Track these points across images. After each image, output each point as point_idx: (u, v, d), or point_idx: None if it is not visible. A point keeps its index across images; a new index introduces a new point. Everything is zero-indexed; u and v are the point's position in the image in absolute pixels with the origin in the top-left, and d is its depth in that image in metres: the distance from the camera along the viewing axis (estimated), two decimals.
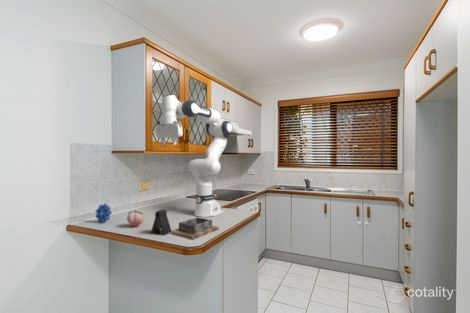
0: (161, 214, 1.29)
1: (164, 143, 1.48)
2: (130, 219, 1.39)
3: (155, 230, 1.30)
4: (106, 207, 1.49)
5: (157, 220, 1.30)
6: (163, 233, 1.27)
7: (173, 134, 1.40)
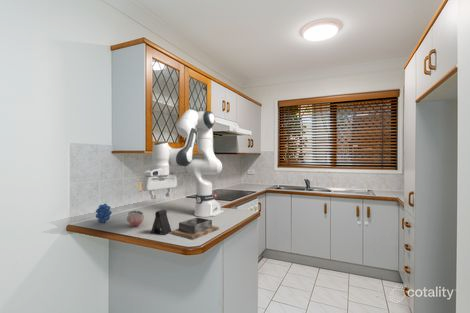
0: (161, 214, 1.29)
1: None
2: (130, 219, 1.39)
3: (155, 230, 1.30)
4: (106, 207, 1.49)
5: (157, 220, 1.30)
6: (163, 233, 1.27)
7: (172, 185, 1.35)
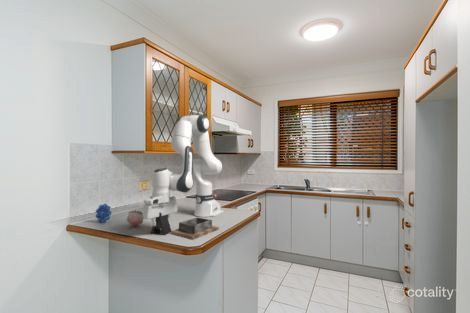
0: (161, 214, 1.29)
1: None
2: (130, 219, 1.39)
3: (155, 230, 1.30)
4: (106, 207, 1.49)
5: (157, 220, 1.30)
6: (163, 233, 1.27)
7: (172, 211, 1.35)
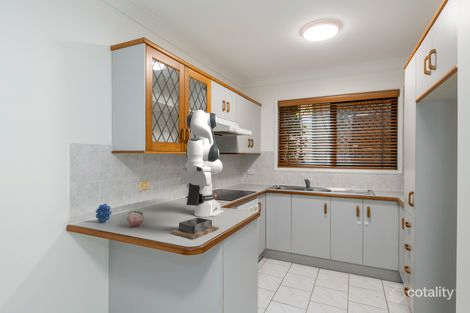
0: None
1: None
2: (130, 219, 1.39)
3: None
4: (106, 207, 1.49)
5: None
6: (203, 201, 1.35)
7: None
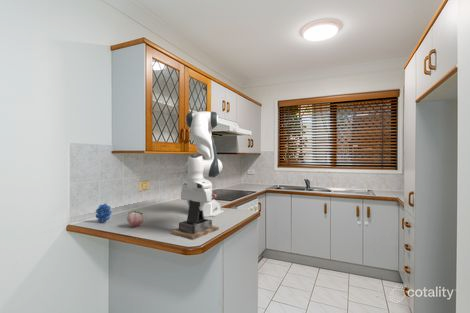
0: None
1: None
2: (130, 219, 1.39)
3: None
4: (106, 207, 1.49)
5: None
6: (203, 218, 1.35)
7: None
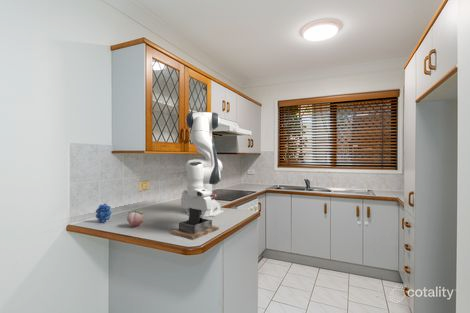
0: None
1: None
2: (130, 219, 1.39)
3: None
4: (106, 207, 1.49)
5: None
6: None
7: None
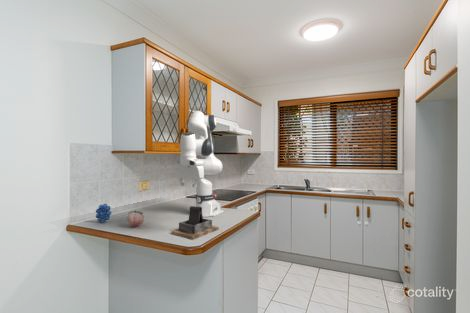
0: None
1: None
2: (130, 219, 1.39)
3: None
4: (106, 207, 1.49)
5: None
6: None
7: None
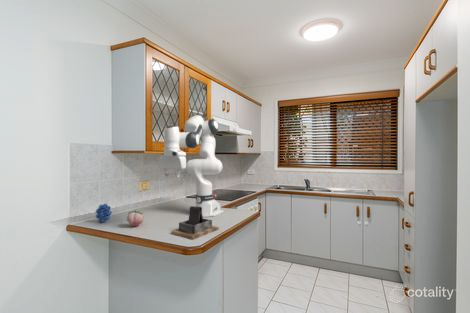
0: None
1: None
2: (130, 219, 1.39)
3: None
4: (106, 207, 1.49)
5: None
6: None
7: None
